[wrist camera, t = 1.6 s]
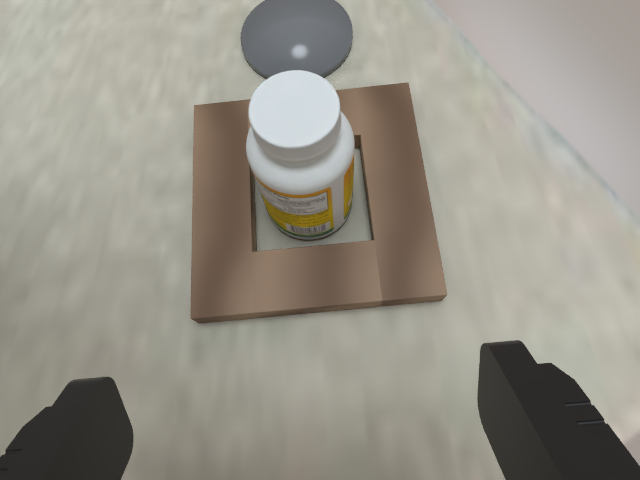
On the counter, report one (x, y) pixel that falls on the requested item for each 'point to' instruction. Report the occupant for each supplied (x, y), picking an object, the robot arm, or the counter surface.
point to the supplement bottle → (301, 153)
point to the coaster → (296, 36)
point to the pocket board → (324, 260)
